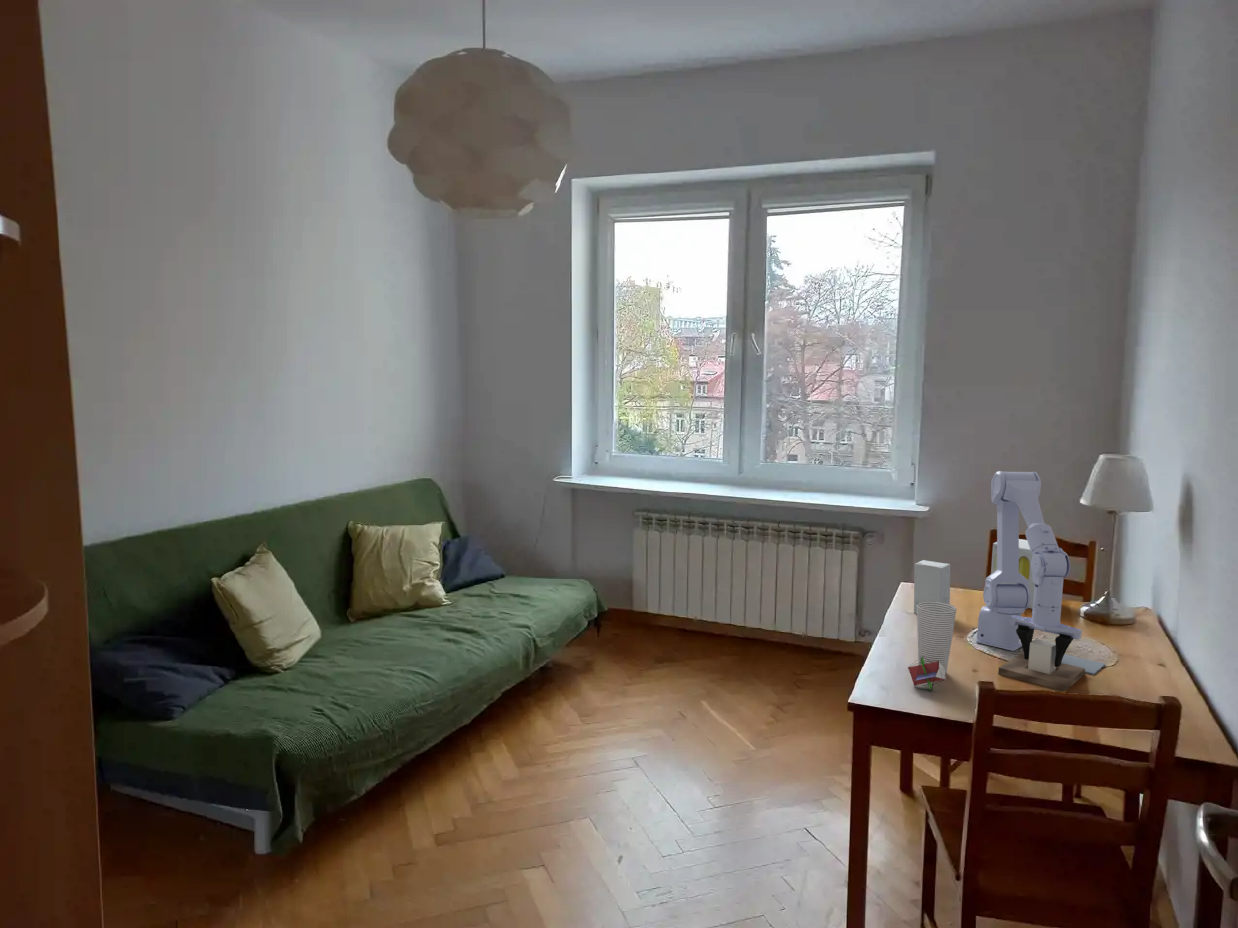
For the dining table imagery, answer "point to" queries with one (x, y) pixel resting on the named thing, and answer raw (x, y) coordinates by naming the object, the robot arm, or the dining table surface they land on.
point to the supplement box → (1024, 564)
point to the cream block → (1042, 656)
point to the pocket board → (1057, 680)
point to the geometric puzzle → (927, 673)
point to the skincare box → (931, 582)
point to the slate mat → (1083, 664)
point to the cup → (935, 631)
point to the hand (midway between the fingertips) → (1042, 662)
